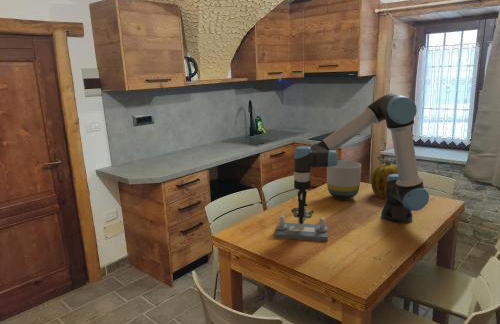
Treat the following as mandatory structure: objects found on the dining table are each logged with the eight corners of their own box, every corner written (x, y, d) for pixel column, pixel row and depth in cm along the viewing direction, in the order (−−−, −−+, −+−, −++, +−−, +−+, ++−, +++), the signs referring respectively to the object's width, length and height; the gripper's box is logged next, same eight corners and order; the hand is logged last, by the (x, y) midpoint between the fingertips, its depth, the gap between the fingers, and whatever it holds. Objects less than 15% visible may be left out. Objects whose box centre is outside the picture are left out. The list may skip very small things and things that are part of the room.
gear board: (327, 228, 186) (327, 213, 184) (327, 241, 172) (328, 224, 171) (278, 226, 190) (278, 211, 188) (275, 238, 177) (274, 222, 175)
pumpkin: (365, 192, 238) (367, 153, 232) (394, 190, 239) (397, 152, 234) (378, 202, 219) (380, 160, 214) (409, 200, 221) (413, 158, 215)
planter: (363, 203, 218) (365, 167, 213) (329, 204, 219) (330, 168, 213) (354, 193, 237) (356, 159, 232) (323, 193, 237) (324, 160, 232)
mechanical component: (313, 231, 178) (313, 210, 176) (291, 229, 180) (291, 209, 178) (313, 228, 181) (313, 208, 179) (291, 227, 183) (291, 207, 181)
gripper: (296, 173, 187) (295, 214, 192) (291, 187, 165) (291, 234, 170) (311, 173, 186) (311, 215, 191) (309, 188, 163) (308, 235, 168)
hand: (301, 224), depth 180 cm, fingers open, 11 cm apart
